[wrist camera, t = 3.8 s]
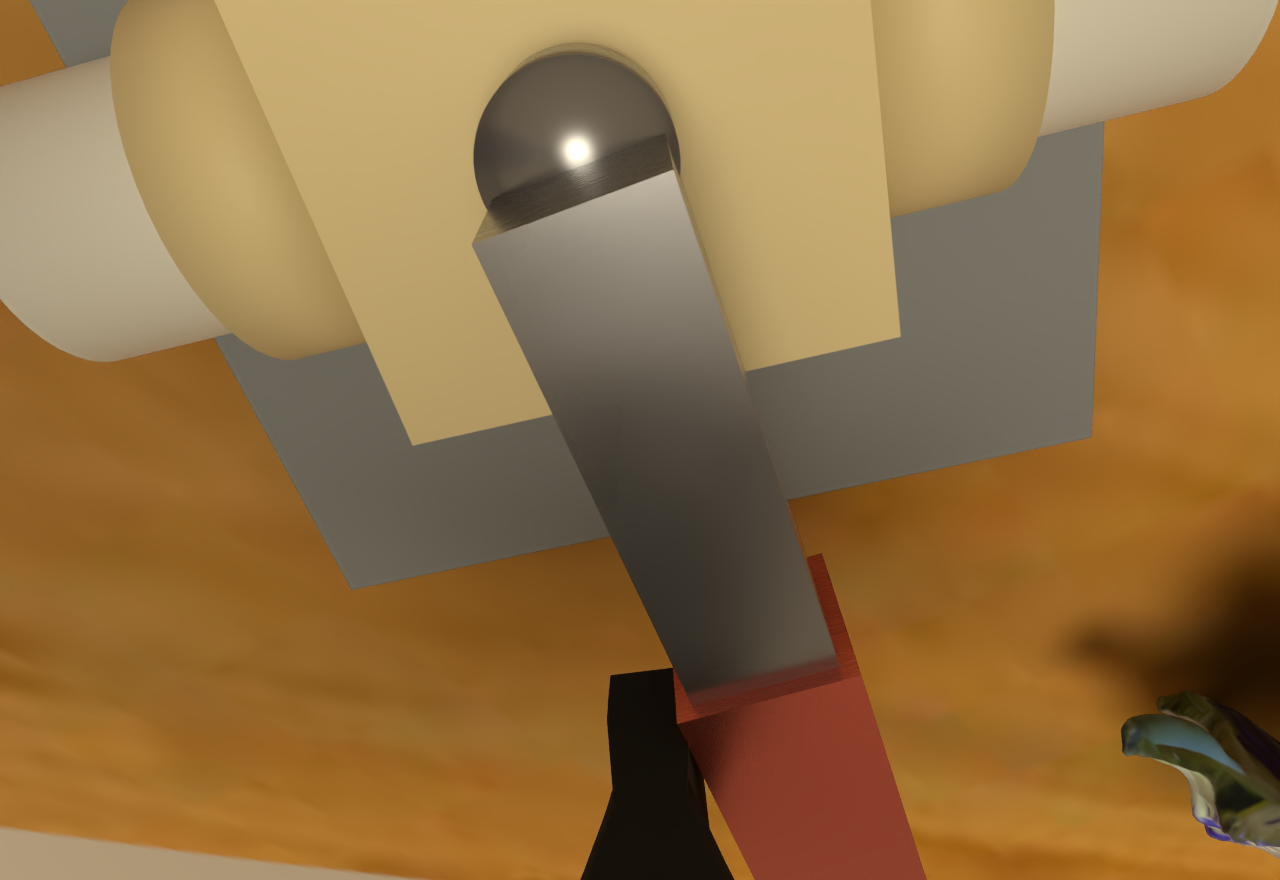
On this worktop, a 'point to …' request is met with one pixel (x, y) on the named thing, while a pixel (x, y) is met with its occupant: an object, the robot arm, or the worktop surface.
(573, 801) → the worktop surface
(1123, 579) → the worktop surface
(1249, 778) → the passion flower
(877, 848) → the valve lever
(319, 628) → the worktop surface
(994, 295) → the valve board
